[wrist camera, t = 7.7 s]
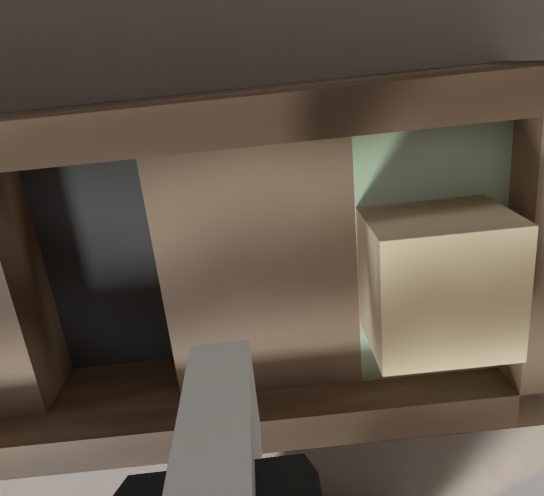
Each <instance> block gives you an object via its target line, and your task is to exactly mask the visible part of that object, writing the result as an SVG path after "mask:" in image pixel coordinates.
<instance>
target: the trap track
mask: <svg viewBox="0 0 544 496" xmlns="http://www.w3.org/2000/svg"><path fill="white" fill-rule="evenodd" d="M475 195H486V196H488V197H489V198H491V199H493V200H495V201H496V202H498V203H500V204H502V205H503V206H505V207H507V208H509V209H510V210H512V211H514V212H516V213H517V214H519V215H521V216H523V217H524V218H526V219H528V220H530V221H531V222H533V223H535V224H537V225H538V226H539V228H538V239H537V250H536V261H535V272H534V283H533V294H532V305H531V316H530V327H529V338H528V348H527V359H526V363H517V364H507V365H497V366H487V367H477V368H467V369H457V370H447V371H437V372H427V373H417V374H407V375H397V376H387V377H383V376H382V374H381V371H380V369H379V367H378V364H377V362H376V359H375V357H374V354H373V352H372V350H371V347H370V345H369V342H368V340H367V337H366V335H365V332H364V330H363V328H362V325H361V323H360V307H359V281H358V255H357V229H356V207H365V206H375V205H385V204H395V203H405V202H415V201H425V200H435V199H445V198H455V197H465V196H475ZM246 339H249V342H250V349H251V357H252V365H253V373H254V380H255V388H256V396H257V404H258V411H259V419H260V428H261V450H262V454H263V453H273V452H283V451H292V450H302V449H312V448H322V447H332V446H341V445H351V444H361V443H371V442H381V441H391V440H400V439H410V438H420V437H430V436H440V435H449V434H459V433H469V432H479V431H489V430H498V429H508V428H518V427H528V426H538V425H544V61H502V62H493V63H483V64H473V65H464V66H454V67H444V68H434V69H425V70H415V71H405V72H396V73H386V74H376V75H366V76H357V77H347V78H337V79H328V80H318V81H308V82H298V83H289V84H279V85H269V86H260V87H250V88H240V89H231V90H221V91H211V92H201V93H192V94H182V95H172V96H163V97H153V98H143V99H133V100H124V101H114V102H104V103H95V104H85V105H75V106H65V107H56V108H46V109H36V110H27V111H17V112H7V113H0V480H8V479H18V478H28V477H38V476H47V475H57V474H67V473H77V472H87V471H96V470H106V469H116V468H126V467H136V466H145V465H155V464H165V463H168V462H169V456H170V451H171V445H172V440H173V435H174V429H175V424H176V418H177V413H178V408H179V402H180V397H181V391H182V386H183V381H184V375H185V370H186V364H187V359H188V354H189V348H190V346H192V345H201V344H210V343H219V342H228V341H237V340H246Z"/></svg>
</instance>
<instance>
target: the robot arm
mask: <svg viewBox="0 0 544 496" xmlns="http://www.w3.org/2000/svg"><path fill="white" fill-rule="evenodd" d="M113 496H322V492H321V486H320V481H319V475H318V472H317V470H316V469H315V468H314V466H313V465H312V464H311V462H310V461H309V459H308V458H307V457H306V455H305V454H296V455H288V456H279V457H270V458H262V450H261V428H260V419H259V411H258V404H257V396H256V388H255V380H254V373H253V365H252V357H251V349H250V342H249V339H246V340H237V341H228V342H219V343H210V344H201V345H192V346H190V348H189V354H188V359H187V364H186V370H185V375H184V381H183V386H182V391H181V397H180V402H179V408H178V413H177V418H176V424H175V429H174V435H173V440H172V445H171V451H170V456H169V462H168V467H167V471H162V472H154V473H145V474H136V475H128V476H127V478H126V479H125V480H124V482H123V483H122V484H121V486H120V487H119V488H118V490H117V491H116V492H115V494H114V495H113Z"/></svg>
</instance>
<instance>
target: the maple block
mask: <svg viewBox="0 0 544 496" xmlns="http://www.w3.org/2000/svg"><path fill="white" fill-rule="evenodd" d="M538 228H539V226H538V225H537V224H535V223H533V222H531V221H530V220H528V219H526V218H524V217H523V216H521V215H519V214H517V213H516V212H514V211H512V210H510V209H509V208H507V207H505V206H503V205H502V204H500V203H498V202H496V201H495V200H493V199H491V198H489V197H488V196H486V195H475V196H465V197H455V198H445V199H435V200H425V201H415V202H405V203H395V204H385V205H375V206H365V207H356V229H357V255H358V281H359V307H360V323H361V325H362V328H363V330H364V332H365V335H366V337H367V340H368V342H369V345H370V347H371V350H372V352H373V354H374V357H375V359H376V362H377V364H378V367H379V369H380V371H381V374H382V376H383V377H387V376H397V375H407V374H417V373H427V372H437V371H447V370H457V369H467V368H477V367H487V366H497V365H507V364H517V363H526V359H527V348H528V338H529V327H530V316H531V305H532V294H533V283H534V272H535V261H536V250H537V239H538Z"/></svg>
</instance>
